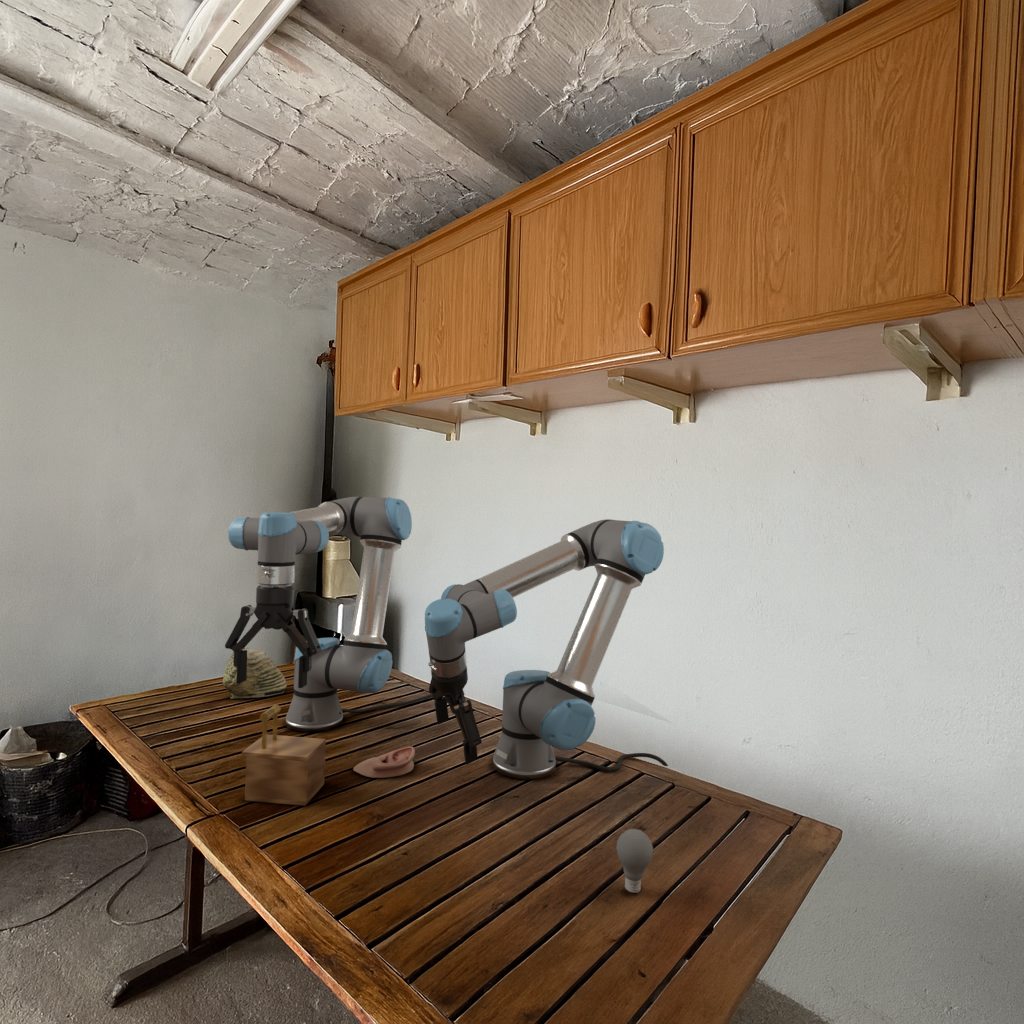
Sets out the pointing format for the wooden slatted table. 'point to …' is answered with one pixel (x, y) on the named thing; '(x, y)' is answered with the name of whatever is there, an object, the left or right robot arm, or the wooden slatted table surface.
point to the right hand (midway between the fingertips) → (456, 740)
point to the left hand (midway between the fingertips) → (271, 684)
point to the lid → (282, 742)
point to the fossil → (254, 676)
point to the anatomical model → (388, 764)
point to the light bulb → (634, 857)
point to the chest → (284, 779)
